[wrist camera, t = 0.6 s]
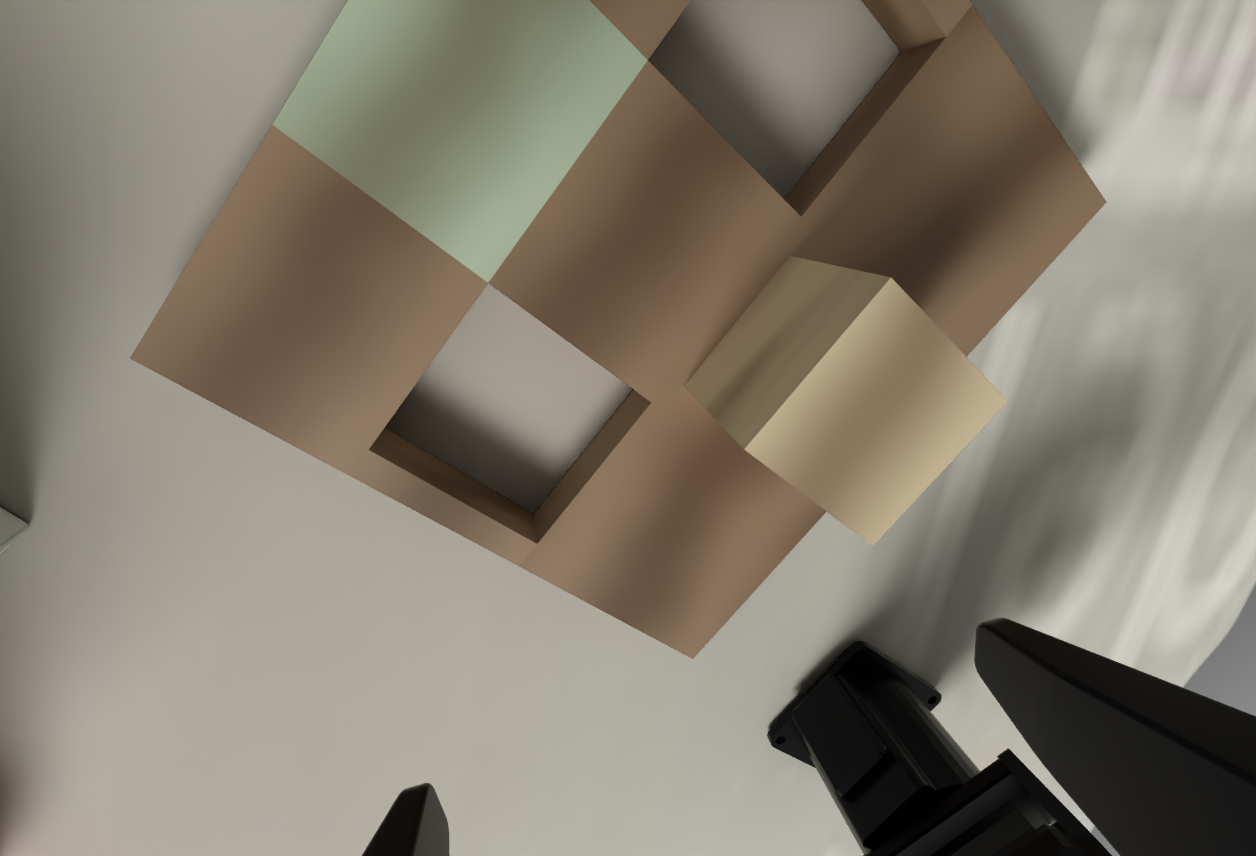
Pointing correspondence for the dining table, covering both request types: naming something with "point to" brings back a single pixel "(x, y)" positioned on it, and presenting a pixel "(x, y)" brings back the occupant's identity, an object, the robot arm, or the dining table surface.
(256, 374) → the trap board
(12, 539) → the small box
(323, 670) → the dining table surface
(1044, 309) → the dining table surface
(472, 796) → the dining table surface
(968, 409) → the maple block
